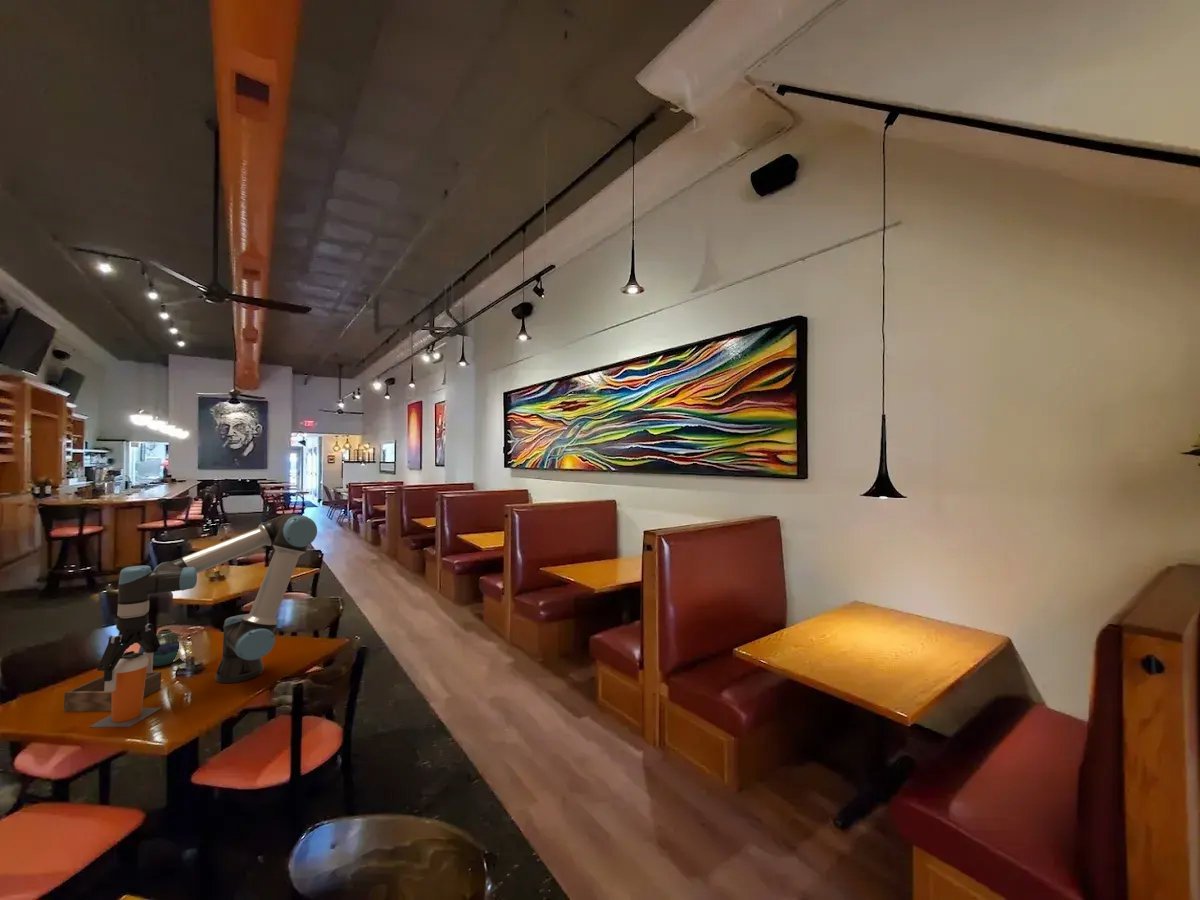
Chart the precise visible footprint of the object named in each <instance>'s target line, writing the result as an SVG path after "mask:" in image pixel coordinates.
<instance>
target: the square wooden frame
mask: <svg viewBox="0 0 1200 900" xmlns="http://www.w3.org/2000/svg"><path fill="white" fill-rule="evenodd" d="M161 684H162V671H153V672H151V673H146V680H145V688H144V697H143V698H145V697H147V696H149V695H151V694H153V693H154V692H157V691H158V690H160V689H161V687H162V686H161ZM104 686H105V681H104V675H102V676H100V677H97V678H95V679H92V680H90V681H88V682H85V683H84V684H81V685H79V686H76V687H74V688H72V689H71V690H67V691H65V692H64V698H63V700H64V701H63V712H111V691H104Z"/></svg>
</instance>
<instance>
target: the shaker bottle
mask: <svg viewBox="0 0 1200 900" xmlns="http://www.w3.org/2000/svg"><path fill="white" fill-rule="evenodd" d="M147 666H148V658H147V657H146V656H144V655H142V653H138V652H136V651H134V650H131V651H127V652H126V651H125V652H124V653H123V655H122V657H121V658H120V660H119V661H118V663H117V665H116V666H115V668H114V669H117V675H116V690H115V691H111V711H110V712H111V714H110V715H111V720H112V721H113V722H123V721H128V720H131V719H134V718H136V717H138V716H140V715H141V713H142V708H143V705H144V704H143V703H144V698H145V697H144V688H145V680H146V672H147Z"/></svg>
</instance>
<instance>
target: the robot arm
mask: <svg viewBox="0 0 1200 900" xmlns="http://www.w3.org/2000/svg"><path fill="white" fill-rule="evenodd" d="M317 535H318V528H317V524H316V522H315V521H314V520H313V519H312V518H309V517H308V516H306V515H301V514H297V513H292V512H291V513H285V514H282V515H278V516H277V517H274V518H273V519H269V520H268V521H265V522H263V523H260V524H258V526H257V528H253V529H251V530H248V531H246V532H244V533H241V534H239V535H235V536H234V537H231V538H228V539H226V540H223V541H220V542H218V543H215V544H213V545H211V546H207V547H205V548H204V549H200V550H198V551H195V552H193V553H190V554H186V555H185V556H182V557H180V558H177V559H175V560H171V561H164V562H161V563H159V564H158V565H156V567H155V568H154V569H153V570H152V567H151V566H150V565H133V566H127V567H124V568H122V569H121V570H120V572H119V579H118V588H117V590H118V591H117V616H118V617H117V618H116V624H115V625H116V630H118V631H119V633H118V634H117V635H116V636H115V635H114V636H113V635H112V636H109V638H108V642H107V646H106V648H105V651H104V652H103V655H102V656H101V660H100V661H99V664H98V666H97V668H96V669H97V672H98V671H99V672H100V671H101V672H103V676H104V681H105V686H104V691H115V690H116V675H117V669H114V668H115V666H116V665H117V663H118V661H119V660H120V658H121V657H122V655H123V653H126V650H127V649H128V648H130V646H133V645H135V644H138V645H139V647H140V646H141V647H142V648H143V649H144V650H145V651H146V652H147V653H143V655H144V656H146V657H147V658H148V666H147V672H146V673H151V672H154V670H153V668H154V666H153V660H154V652H157V651H158V648H159V647H160V643H159V641H158V638H157V636H156V634H157V633H156V632H155V628H154V627H155V626H154V623H149V612H150V611H149V610H150V596H151V595H156V594H163V593H172V592H180V591H182V592H183V591H186V590H192V589H194V588H195V587H196V586H197V582H198V573H202V572H204V571H206V570H209V569H211V568H214V567H216V566H218V565H221V564H223V563H225V562H228V561H231V560H233V559H235V558H238V557H240V556H243V555H245V554H248V553H250V552H252V551H254V550H257V549H259V548H262V547H265V546H269V547H271V546H272V547H273V549H274V552H273V555H272V558H271V560H270V563H269V564H268V567H267V569H266V572H265V574H264V577H263V580H262V582H261V584H260V587H259V589H258V591H257V595H256V596H255V599H254V602H253V604H252V606H251V609H250V611H249V613H246V614H245V613H244V614H238V615H235V616H234V615H233V616H230V617H228V618H227V617H226V619H225V620H224V623H223V638H222V639H223V642H222V658H221V661H220V663H219V665H218V667H217V670H216V673H215V681H216V682H217V683H222V684H233V683H239V682H245V681H248V679H249V680H251V678H252V679H254V678H256V677H255V676H257V675H259V674H260V673H261V672H262V671H263V672H264V663H263V661H262V658H264V657H265V656H266V655H268V654H269V653H270V652H271V651H272V649H274V645H275V643H276V636H275V631H276V629H277V626H278V625H279V624H278V621H277V619H276V616H277V614H278V613H279V609H280V606H281V604H282V601H283V598H284V597H285V594H286V591H287V589H288V586H289V583H290V580H291V578H292V576H293V573H294V571H295V568H296V566H297V562H298V561H299V558H300V556H303V554H306V551H307V549H308V547H309V545H310V544H312V543H313V542H314V541H315V540H316V537H317ZM260 675H261V674H260ZM260 675H259V676H260ZM253 677H254V678H253ZM257 677H258V676H257Z"/></svg>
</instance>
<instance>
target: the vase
mask: <svg viewBox="0 0 1200 900" xmlns="http://www.w3.org/2000/svg"><path fill="white" fill-rule="evenodd" d="M155 634H156V636H157V638H158V641H159V643H160V647H159V648H158V651H157V652H154V660H153V667H163V666H168V665H171V664H173V663H174V662H173V660H174V659H175V657H176V655H177V652H178V649H179V642H178V641H177V639H178V636H180V635H182V633H178V632H175V631H173V630H172V629H171V628H164V629H161V630H158V631H157V633H155ZM137 653H142V655H143V653H147V652H146V651H145V650H144V649H143V648H142V647H141V646H140V645H139V648H138V652H137ZM172 662H173V663H172ZM170 663H171V664H170Z"/></svg>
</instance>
